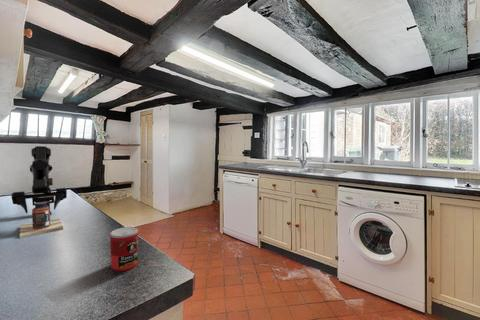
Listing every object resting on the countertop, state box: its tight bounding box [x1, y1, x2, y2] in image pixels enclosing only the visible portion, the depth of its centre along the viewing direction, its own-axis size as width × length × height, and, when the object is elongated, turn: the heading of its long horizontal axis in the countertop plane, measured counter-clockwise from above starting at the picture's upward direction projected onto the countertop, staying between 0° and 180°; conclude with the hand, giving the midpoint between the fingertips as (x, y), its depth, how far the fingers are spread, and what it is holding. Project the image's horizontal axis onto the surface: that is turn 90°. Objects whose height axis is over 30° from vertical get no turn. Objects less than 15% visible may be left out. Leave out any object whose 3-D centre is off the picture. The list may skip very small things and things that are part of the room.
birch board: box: [19, 218, 64, 239], centre depth 101 cm, size 18×14×1 cm
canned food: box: [109, 226, 139, 272], centre depth 69 cm, size 8×8×11 cm
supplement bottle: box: [31, 202, 51, 229], centre depth 99 cm, size 6×6×11 cm
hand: (41, 210), depth 98 cm, fingers open, 9 cm apart
